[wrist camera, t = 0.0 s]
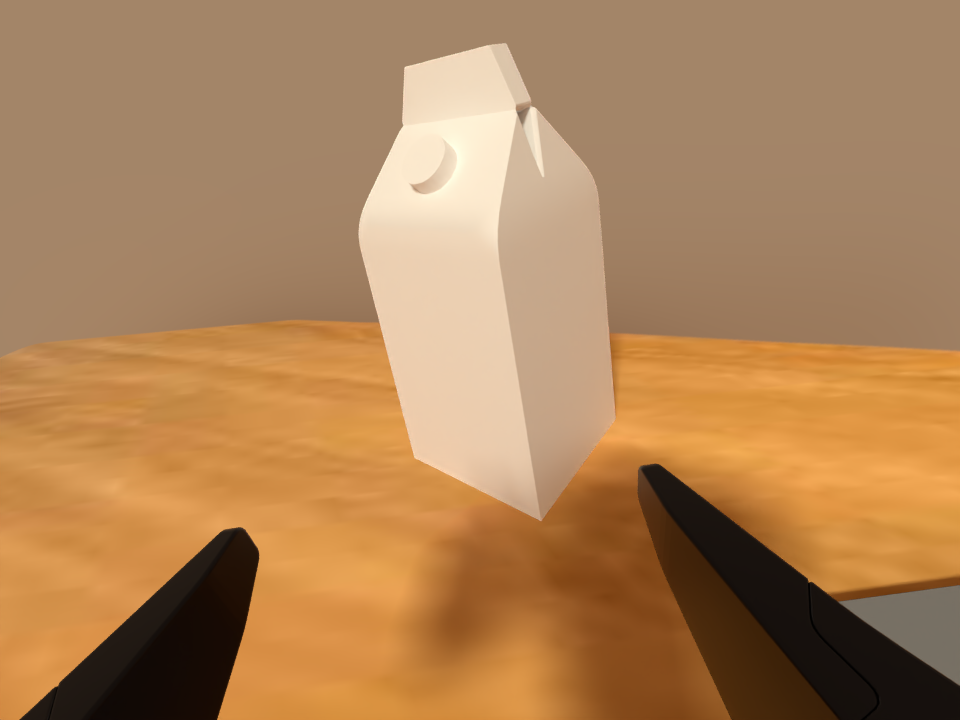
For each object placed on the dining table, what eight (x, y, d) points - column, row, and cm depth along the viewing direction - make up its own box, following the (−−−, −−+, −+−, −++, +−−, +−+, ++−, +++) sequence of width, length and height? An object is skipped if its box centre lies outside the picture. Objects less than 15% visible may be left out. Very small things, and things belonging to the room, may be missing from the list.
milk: (615, 418, 36) (612, 24, 23) (541, 521, 29) (472, 35, 16) (497, 382, 43) (441, 66, 30) (414, 457, 36) (292, 86, 23)
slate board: (1314, 866, 14) (1335, 859, 13) (848, 915, 14) (855, 909, 14) (1005, 587, 21) (1012, 578, 21) (711, 627, 22) (713, 618, 22)
